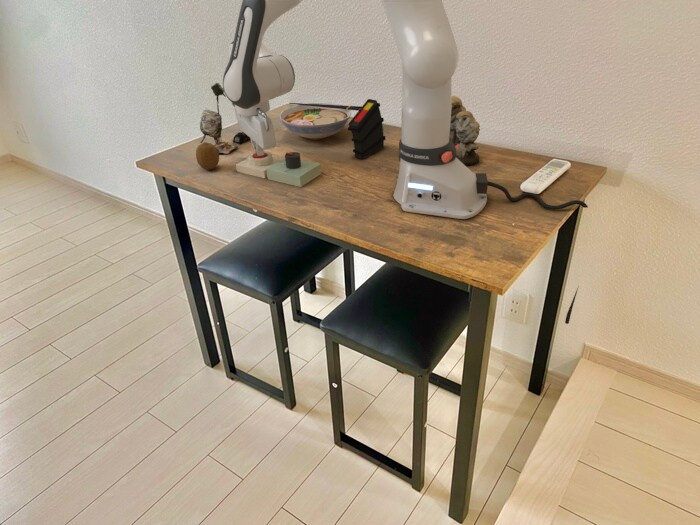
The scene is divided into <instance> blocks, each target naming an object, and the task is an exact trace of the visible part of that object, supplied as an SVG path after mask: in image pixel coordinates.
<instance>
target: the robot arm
mask: <svg viewBox="0 0 700 525" xmlns="http://www.w3.org/2000/svg"><path fill="white" fill-rule="evenodd" d="M302 1H303V0H242V2H241V6H240V10H239V13H238V19H237V22H236V27H235V33H234V38H233V41H232V42H230V43H229V46H228V63H227V65H226V67H225V70H224V73H223V77H222V88H223V90H224V95H225V96H226V98H227V99H228V100H229V101H230V103H231V105H232V106H233V107H234V114H235V119H236V121H237V125H238V128H239V130H240V131H241V132H244V133H245V134H246V135H247V136H249V137H250V142H251V145H252V148H253V152H255V153H256V154H257V155H258V156H263V155H264V151H265V150H269V149H273V148H275V147H276V145H277V140H276V135H275V129H274V123H273V121H272V119H271V118H270V117H269V116H268V115H267V113H268V112H269V111H270V110H271V106H270V100H273V99H276V98H278V97H281V96H284V95H286V94H288V93H291V91H292V90H293V88H294V86H295V81H296V75H295V73H296V72H295V70H294V67H293V65H292V62H291V61H290V60H289V59H288V58H287V57H286V56H284V55H283V54H277V53H276V52H274V51H271V50H270V49H269V48H268V47H266V46H265V45H263V38H264V35H265V33H266V31H267V30H268V28H270V26H271V25H272V24H273V23H274V22H275V21H276V20H278V19H279V18H280V17H281V16H283V15H285V14H286V13H287V12H289V11H291V10H292V9H294V8H296V7H297V6H299V4H300V3H301V2H302ZM381 3H382V6H383V9H384V12H385V15H386V18H387V21H388V25H389V27H390V30H391V33H392V36H393V40H394V43H395V44H396V48H397V51H398V54H399V57H400V60H401V130H400V132H401V133H400V134H401V135H400V139H399V142H398V144H399V145H398V161H399V168H398V175H397V181H396V185H395V189H394V191H393V198H394V201H396V202H397V203H398V204H399V205H400V207H401V210H402V211H403V212H407V213H415V214H421V215H428V216H429V215H430V216H434V217H435V216H436V217H444V218H450V219H451V218H452V219H457V220H467V219H468V220H469V219H471V218H473V217H475V216H477V215H478V214H479V213H480V212H482V211H483V210H484V208H485V207H486V205H487V202H488V197H487V194H488V186H489V187H492V188H495V189H498V190H500V191H501V192H503V193H504V195H505V198H506V199H507V200H508V201H509V202H513V203H517V202H519V201H521V200H522V199H523V198H526V197H531V198H534V199H535V200H536V201H537V202H538V203H539V205H540V206H541V207H543V208H545V209H548V210H552V211H553V210H554V211H556V210H561V209H565V208H568V207H571V206H574V205H578V206H580V207H582V208H584V209H585V208H586V209H587V208H589V206H588V204H587V203H585V202H584V201H582V200H580V199H573V200H571V201H567V202H565V203H562V204H557V205H555V204H554V205H552V204H548V203H546V202H545V201H544V200H543V199H542V198H541V196H540V195H539V194H536V193H535V192H528V191H527V192H523V193H520V194H519V195H518V196H516V197H513V196H512V195H511V194H510V192H509V190H508V189H507V188H506V187H505V186H503V185H501V184H498V183H495V182H492V181H489V180H488V176H487V173H486V172H485V173H484V172H473V171H472V170H471V169H469V168H468V166H465V165H464V164H463V163H462V162H461V161H460V160H458V159H457V158H456V151H457V150H458V149H459V148H458V146H459V144H457V145H456V146H454V145H453V144H452V143H451V141H450V139H449V136H450V122H451V108H452V104H451V96H452V77H453V76H454V74H455V73H456V71H457V67H458V63H459V50H458V45H457V42H456V40H455V36H454V33H453V31H452V28H451V25H450V21H449V18H448V16H447V13H446V12H447V11H446V9H445V7H444V4H443V1H442V0H381ZM579 288H580V286H579V285H578V286H577V288H576V290H575V293H574V295H573V297H572V299H571V300H572V301H571V303H570V305H569V308H568V311H567V312H566V316H565V320H564V323H565V324H566V325H569V324H570V320H571V315H572V311H573V308H574V305H575V304H574V303H575V301H576V297H577V294H578V290H579Z"/></svg>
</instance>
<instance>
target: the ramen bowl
mask: <svg viewBox="0 0 700 525" xmlns="http://www.w3.org/2000/svg"><path fill="white" fill-rule="evenodd" d="M289 105H292V106H290V107H287V108H285V109H283V110H282V111H281V112H280V113H279V114H278V115H279V119H280V121H281V123H282V125H283V126H284V127H285V128H286V129H287V130H288V131H289V132H291V133H293V134H294V135H296V136H297V137H301V138H306V139H308V140H312V141H313V140H314V141H317V140H324V139H326V138H328V137H331V136H334V135H335V134H337V133H339V132H340V131H342V130H343V128H344V127H345V126H346V125H347V122H348V121H349V120H350V118H351V115H352V113H353V112H352V111H357V112H358V111H359V110H360V109H361V107H362V106H363V105H361V106H357V105H343V104H340V103H333V102H308V103H304V102H303V103H301V102H289Z"/></svg>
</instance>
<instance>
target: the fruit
mask: <svg viewBox="0 0 700 525" xmlns="http://www.w3.org/2000/svg"><path fill="white" fill-rule="evenodd" d="M214 145H215V144H213V143H211V142H207V141H203V142H202V143H199V145H197V147H196V150H195V158H196V161H197V164H198V165H199V166H200V167H201V168H202V169H203V170H207V171H212V170H214V169H215V168H216V167H217V166H218V165H219V162H220V153H218V151H217V149H216V147H215V146H214Z"/></svg>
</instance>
